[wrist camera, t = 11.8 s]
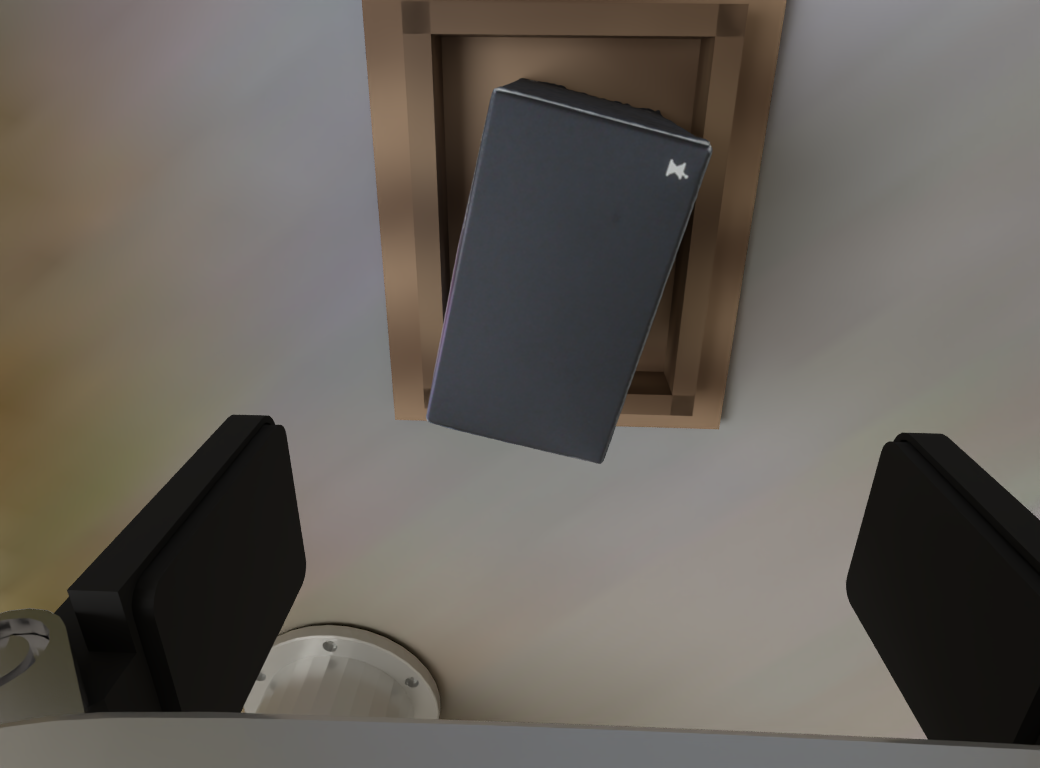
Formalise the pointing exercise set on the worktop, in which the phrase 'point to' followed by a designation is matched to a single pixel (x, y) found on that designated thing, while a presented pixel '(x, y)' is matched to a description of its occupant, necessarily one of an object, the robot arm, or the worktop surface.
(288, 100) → the worktop surface
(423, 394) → the brown shallow box
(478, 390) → the small box
